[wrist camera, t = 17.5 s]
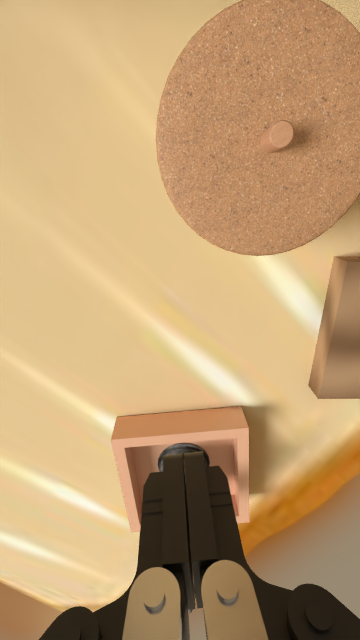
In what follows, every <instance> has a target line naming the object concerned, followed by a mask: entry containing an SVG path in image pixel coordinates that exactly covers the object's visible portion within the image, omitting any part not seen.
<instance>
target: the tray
mask: <svg viewBox="0 0 360 640" xmlns="http://www.w3.org/2000/svg"><path fill="white" fill-rule="evenodd" d="M111 442H112V447H113V451H114V456H115V460H116V465H117V469H118V474H119V478H120V483H121V488H122V492H123V497H124V501H125V506H126V510H127V515H128V520H129V524H130V529H131V532H140V527H141V517H142V504H143V501H142V500H143V487H144V484H145V482H146V480H147V478H148V476H149V474H150V473H153V472H160V471H159V469H158V458H159V456H160V454H161V453H162V452H163V450H164V449H166V448H167V447H169V446H171V445H174V444H177V443H192V444H195V445H198V446H200V447H201V448H203V449H204V450H205V451H206V452H207V454H208V456H209V460H210V465H209V466H220V468H221V469H222V471H223V472H224V473H225V475H226V476H227V479H228V483H229V488H230V493H231V497H232V502H233V507H234V511H235V516H236V521H237V523H246V522H249V427H248V424H247V421H246V418H245V416H244V413H243V410H242V407H241V406H236V407H225V408H214V409H202V410H191V411H180V412H168V413H157V414H146V415H134V416H123V417H117V418H116V422H115V426H114V430H113V434H112V438H111Z"/></svg>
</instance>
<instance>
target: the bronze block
mask: <svg viewBox="0 0 360 640" xmlns="http://www.w3.org/2000/svg"><path fill="white" fill-rule="evenodd" d="M309 387H310V388H311V390H312V391H313V392H314V394H315V395H316V396H317V398H318V399H360V257H334V259H333V264H332V269H331V275H330V280H329V285H328V290H327V295H326V300H325V305H324V310H323V315H322V320H321V325H320V330H319V335H318V340H317V345H316V350H315V355H314V360H313V365H312V371H311V376H310V381H309Z"/></svg>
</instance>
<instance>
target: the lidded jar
mask: <svg viewBox="0 0 360 640" xmlns="http://www.w3.org/2000/svg"><path fill="white" fill-rule="evenodd" d="M156 146H157V159H158V164H159V168H160V173H161V177H162V181H163V183H164V186H165V188H166V191H167V194H168V196H169V198H170V200H171V201H172V203H173V205H174V207H175V209H176V210H177V212H178V213H179V214H180V216H181V217H182V218H183V219H184V221H185V222H186V223H187V224H188V225H189V226H190V227H191V228H192V229H193V230H194V231H195V232H196V233H197V234H198V235H199V236H201V237H202V238H204V239H206V240H207V241H209V242H210V243H212V244H213V245H216V246H218V247H220V248H222V249H225V250H227V251H231V252H234V253H238V254H243V255H254V256H261V255H273V254H278V253H282V252H286V251H290V250H292V249H295V248H297V247H300V246H303V245H305V244H306V243H308V242H310V241H312V240H313V239H315V238H317V237H318V236H320V235H321V234H322V233H324V232H325V231H326V230H328V229H329V228H330V227H332V226H333V225H334V224H335V223H336V222H337V221H338V220H339V219H340V218H341V217H342V216H343V215H344V214H345V213H346V211H347V210H348V209H349V207H350V206H351V205H352V204H353V202H354V201H355V200H356V198H357V197H358V195H359V193H360V33H359V32H358V31H357V29H356V28H355V26H353V25H352V24H351V23H350V22H349V21H348V20H347V19H346V18H345V17H344V16H343V15H342V14H341V13H340V12H338V11H337V10H335V9H334V8H332V7H331V6H329V5H327V4H326V3H324V2H322V1H319V0H242V1H240V2H238V3H236V4H234V5H232V6H230V7H228V8H226V9H224V10H223V11H221V12H220V13H219V14H217V15H216V16H215V17H213V18H212V19H211V20H209V21H208V22H207V23H206V24H205V25H204V26H203V27H202V28H201V29H200V30H199V31H198V32H197V33H196V34H195V35H194V36H193V37H192V38H191V40H190V41H189V42H188V44H187V45H186V47H185V48H184V50H183V51H182V52H181V54H180V55H179V57H178V59H177V61H176V63H175V65H174V66H173V68H172V70H171V72H170V74H169V76H168V79H167V82H166V85H165V88H164V91H163V94H162V97H161V101H160V107H159V112H158V117H157V130H156Z"/></svg>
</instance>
